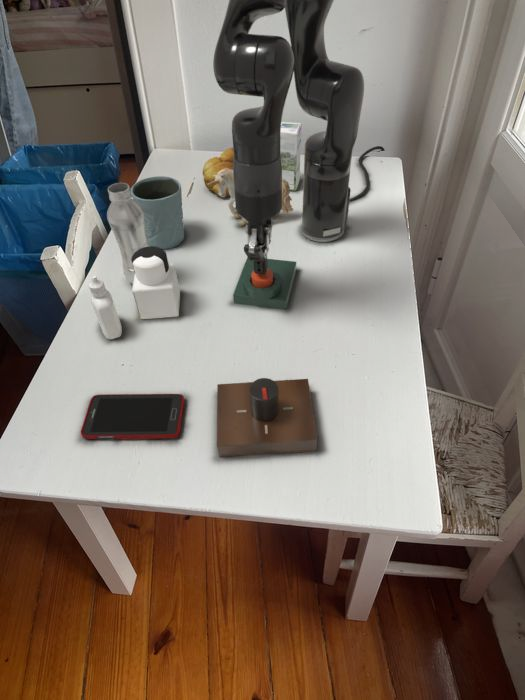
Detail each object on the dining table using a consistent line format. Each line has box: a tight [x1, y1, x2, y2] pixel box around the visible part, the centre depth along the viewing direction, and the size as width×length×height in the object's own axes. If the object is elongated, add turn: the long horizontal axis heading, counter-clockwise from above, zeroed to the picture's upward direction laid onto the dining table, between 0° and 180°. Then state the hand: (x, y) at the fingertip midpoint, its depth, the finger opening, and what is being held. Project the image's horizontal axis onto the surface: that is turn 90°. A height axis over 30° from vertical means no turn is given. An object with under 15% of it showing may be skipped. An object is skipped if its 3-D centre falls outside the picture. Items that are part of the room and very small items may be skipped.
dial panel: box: [216, 378, 318, 458], centre depth 72 cm, size 14×11×3 cm
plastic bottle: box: [106, 182, 149, 285], centre depth 90 cm, size 6×7×20 cm
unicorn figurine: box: [208, 168, 294, 227], centre depth 106 cm, size 7×20×13 cm, turn 113°
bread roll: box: [202, 147, 234, 197], centre depth 119 cm, size 13×10×8 cm
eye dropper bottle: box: [88, 275, 123, 340], centre depth 83 cm, size 4×6×12 cm
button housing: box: [232, 256, 297, 310], centre depth 93 cm, size 12×10×4 cm
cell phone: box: [80, 393, 185, 440], centre depth 74 cm, size 8×15×1 cm, turn 89°
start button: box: [251, 268, 273, 288], centre depth 89 cm, size 4×4×2 cm
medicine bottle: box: [131, 246, 181, 320], centre depth 87 cm, size 7×7×12 cm
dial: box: [250, 377, 278, 421], centre depth 69 cm, size 4×4×5 cm
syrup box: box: [280, 121, 302, 192], centre depth 116 cm, size 6×6×14 cm
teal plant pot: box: [130, 175, 185, 250], centre depth 103 cm, size 10×10×12 cm
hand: (260, 271), depth 88 cm, fingers closed
